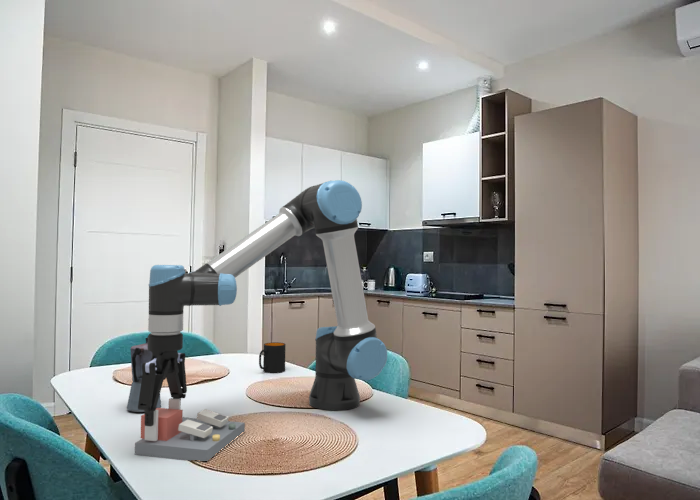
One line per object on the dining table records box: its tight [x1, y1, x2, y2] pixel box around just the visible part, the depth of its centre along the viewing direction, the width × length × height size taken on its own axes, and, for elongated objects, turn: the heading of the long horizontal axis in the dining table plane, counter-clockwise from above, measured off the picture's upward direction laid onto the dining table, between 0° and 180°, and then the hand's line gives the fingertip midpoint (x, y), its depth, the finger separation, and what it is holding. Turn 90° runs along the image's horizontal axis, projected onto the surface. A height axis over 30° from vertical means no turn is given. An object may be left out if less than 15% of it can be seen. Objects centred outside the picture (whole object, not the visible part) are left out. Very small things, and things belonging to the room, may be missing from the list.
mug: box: [258, 342, 286, 374], centre depth 195 cm, size 8×12×10 cm
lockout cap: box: [140, 407, 184, 441], centre depth 116 cm, size 6×6×5 cm
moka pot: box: [126, 337, 162, 413], centre depth 144 cm, size 10×15×20 cm, turn 2°
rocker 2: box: [196, 408, 229, 427], centre depth 122 cm, size 6×4×2 cm, turn 78°
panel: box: [134, 416, 246, 462], centre depth 118 cm, size 17×19×4 cm
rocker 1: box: [178, 419, 213, 438], centre depth 114 cm, size 6×4×2 cm, turn 78°
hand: (163, 433), depth 116 cm, fingers open, 8 cm apart
